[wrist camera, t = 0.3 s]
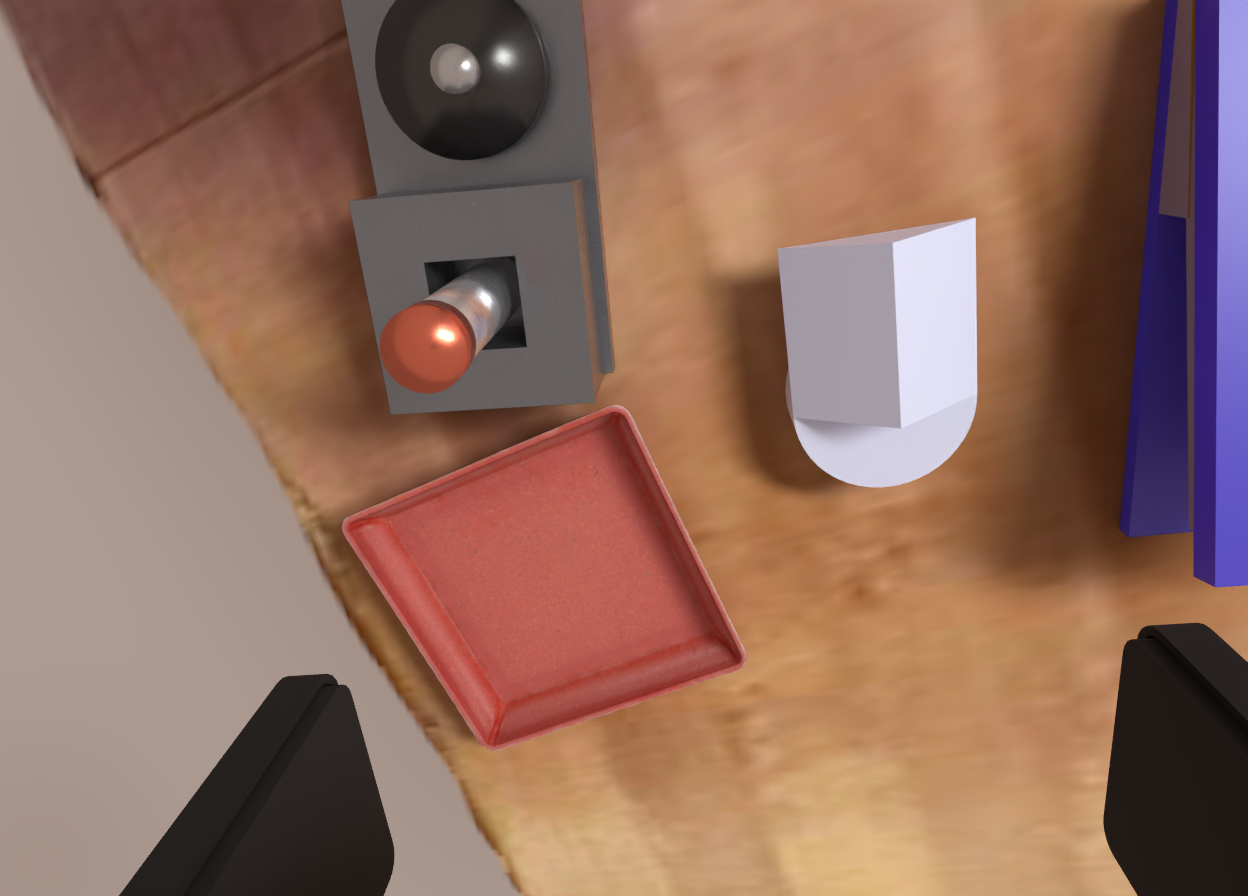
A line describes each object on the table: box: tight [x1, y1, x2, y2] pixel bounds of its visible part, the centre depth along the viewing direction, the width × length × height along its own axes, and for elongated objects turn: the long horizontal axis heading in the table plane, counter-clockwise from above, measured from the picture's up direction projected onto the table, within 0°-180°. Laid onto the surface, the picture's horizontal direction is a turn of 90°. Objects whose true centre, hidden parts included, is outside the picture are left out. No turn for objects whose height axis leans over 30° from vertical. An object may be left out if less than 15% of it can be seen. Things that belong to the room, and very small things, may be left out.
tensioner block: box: [341, 0, 615, 415], centre depth 38 cm, size 19×11×6 cm, turn 5°
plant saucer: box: [342, 405, 748, 751], centre depth 48 cm, size 18×18×3 cm
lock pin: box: [380, 257, 521, 394], centre depth 35 cm, size 3×3×13 cm
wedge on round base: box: [777, 218, 977, 487], centre depth 40 cm, size 9×7×13 cm
